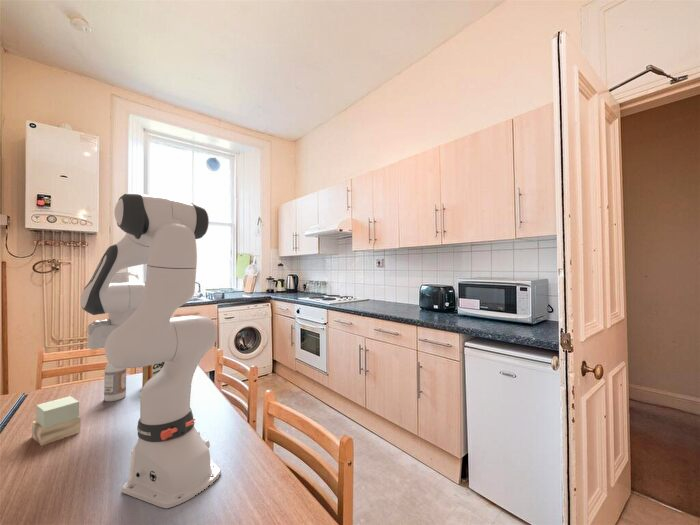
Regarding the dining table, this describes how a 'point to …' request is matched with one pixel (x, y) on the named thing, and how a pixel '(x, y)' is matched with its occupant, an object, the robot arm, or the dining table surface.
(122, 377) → the bath foam
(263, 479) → the dining table surface
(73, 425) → the birch base block
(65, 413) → the sage middle block
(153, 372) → the baking soda box
